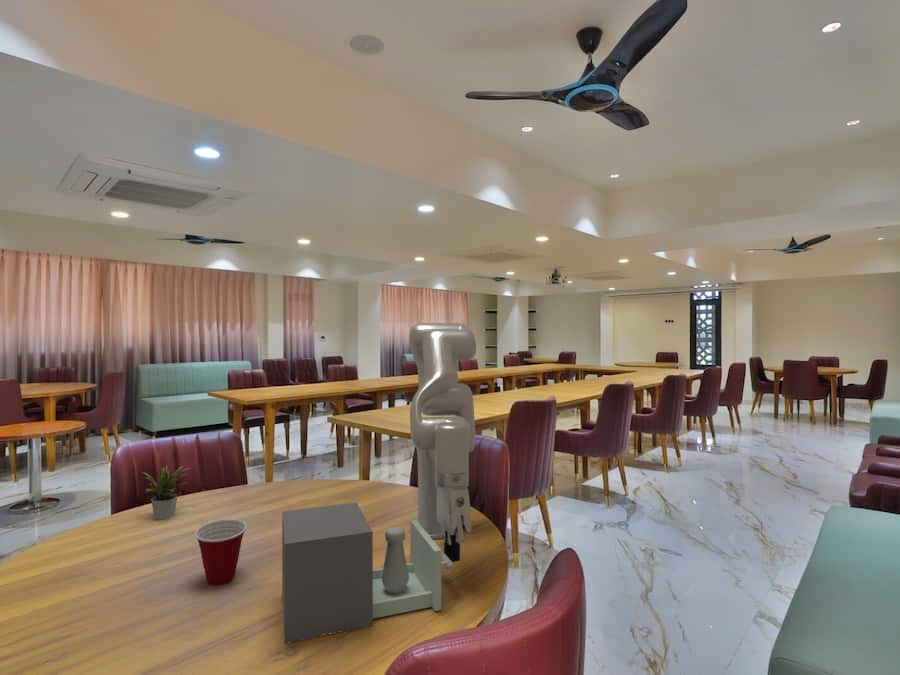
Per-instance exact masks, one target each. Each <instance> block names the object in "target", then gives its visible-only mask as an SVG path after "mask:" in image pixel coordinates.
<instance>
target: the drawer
mask: <svg viewBox="0 0 900 675" xmlns="http://www.w3.org/2000/svg"><path fill="white" fill-rule="evenodd" d="M409 524H410V526H409V528H410V530H409V531H410V538H409V539H410V541H409V542H410V546H409V548H410V553H409V554H410V556H409V558H410V560H409V561H410V563H406V565H407V570H408V575H409V581H408V583H407V585H406V588H405V590H404V592H402V593H399V594H389V593H388V592H387V591H386V589H385V587H384V585H383V583H382V573H383V568H384V567H380V568H375V569H374V568H373V620H374V619H377V618H383V617H388V616H393V615H397V614H398V615H399V614H403V613H407V612H413V611H418V610H423V609H427V608H432V609H433V611H434V612H437V611H441V610H442V571H445V570H447V571H452V570H454V568H455V564H454V562H452V561H451V560H450V559H449V558H448V557H447V555H446V554H445V553H444V550H443V549H442V548H441V547H440V546H439V545H438V543H437V542H435V541H434V539H432V538H431V537H430V536H429V535H428V534H427V532H426V531H425V530H424V529H423V528H422V526H421V525H420V524H419V523H418V519H412V520H410V523H409Z"/></svg>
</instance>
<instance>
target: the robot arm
mask: <svg viewBox="0 0 900 675" xmlns="http://www.w3.org/2000/svg"><path fill="white" fill-rule="evenodd" d="M408 336H409V347H410V350H411V354H412V357H413V360H414V362H415V365H416V369H417V380H418V383H417V384H418V389H417V391H416V392H415V394H414V396H413V398H412V400H411V403H410V408H409V428H410V438H411V442H412V444H413V446H414V447H415V448H416V455H417V457H416V458H417V521H418V523H419V524H420V525H421V526H422V528H423V529H424V530H425V531H426V532H427V534H428V535H429V536H430V537H431V538H432V540H438V539H443V541H444V542H443V552H444V553H445V554H446V555H447V557H448V558H449V559H450V560H451V561H452V563H454V562H460V560H461V543H462V542H464V532H465V533H467V534H469V533H471V532H472V522H471V521H472V520H471V502H470V494H469V489H468V486H470V485H469V482H470V480H469V479H470V478H469V476H470V474H469V473H470V472H469V471H470V470H469V463H470V462H469V457H470V456H469V455H470V454H469V453H471V452H473V450H475V449H474V448H475V447H476V428H475V427H476V424H475V408H474V397H473V396H474V395H473V391H472V390H471V387H470V386H469V385H468V384H466V383H462V382H459V376H458V368H457V361H471V360H472V359H474V358H475V356H476V354H477V353H476V352H477V341H476V340H477V339H476V337H475V335H474V332H473V331H472V329H471V328H470V327H468V324H465V323H461V322H460V323H459V322H457V323H455V322H454V323H453V322H452V323H450V322H448V323H447V322H445V323H444V322H427V323H426V322H425V323H424V322H423V323H419V324H415V325H413V326H412V327H411V328H410V331H409V334H408ZM422 414H423V415H425V416H426V417H425V416H422Z"/></svg>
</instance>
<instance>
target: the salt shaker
mask: <svg viewBox="0 0 900 675" xmlns="http://www.w3.org/2000/svg"><path fill="white" fill-rule="evenodd" d="M384 537H385V538H384V539H385V541H386V542H387V544H386V550H385V556H384V563H383V567H382V568H383V573H382V583H383V585H384V587H385V589H386V591H387V592H388V593H389V594H399V593H402V592H404V590H405V588H406V585H407V583H408V581H409V575H408V570H407V565H406V564H407V559H406V556H405V549H404V542H403V541H404V540H405V539H406V530H405V529H404V528H403V527H399V526H392V527H389V528H387V529H386V530H385V533H384Z"/></svg>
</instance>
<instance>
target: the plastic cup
mask: <svg viewBox="0 0 900 675" xmlns="http://www.w3.org/2000/svg"><path fill="white" fill-rule="evenodd" d="M247 526H248V525H247V524H246V523H245V521H243V520H240V519H234V518H233V519H232V518H226V519H217V520H213V521H210V522H208V523H207V522H206V523H205V524H202V525H201V526H198V528H196V530H195V532H194V537H195V538H196V540H197V542H198V545H199V549H200V554H201V561H202V566H203V570H204V575H205V580H206V583H207V584H208V585H211V586H222V585H225V584H228V583H230V582H232V581H233V580H234V579H235V576H236V573H237V566H238V562H239V558H240V550H241V545H242V540H243V537H244V533H245V532H246V530H247Z"/></svg>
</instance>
